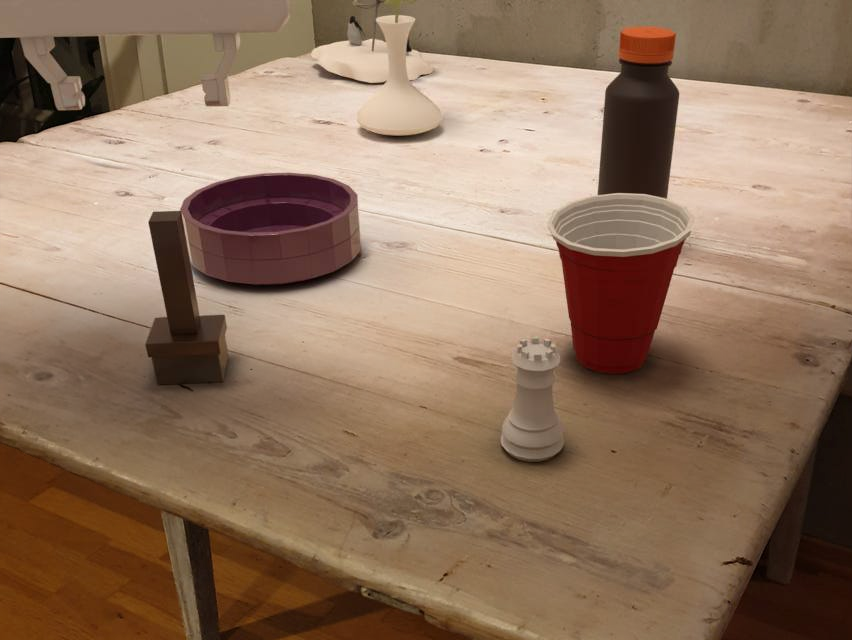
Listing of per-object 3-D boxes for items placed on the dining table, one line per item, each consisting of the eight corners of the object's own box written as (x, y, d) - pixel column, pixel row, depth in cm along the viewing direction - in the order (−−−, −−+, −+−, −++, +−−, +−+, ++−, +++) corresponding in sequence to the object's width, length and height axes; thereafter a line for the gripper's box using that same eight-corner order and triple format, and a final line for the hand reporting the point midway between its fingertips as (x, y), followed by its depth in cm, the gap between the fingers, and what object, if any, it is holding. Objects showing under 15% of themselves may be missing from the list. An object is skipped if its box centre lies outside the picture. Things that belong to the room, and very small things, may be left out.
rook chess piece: (576, 450, 67) (584, 349, 63) (526, 472, 65) (530, 369, 61) (537, 421, 70) (541, 323, 66) (487, 441, 68) (488, 341, 64)
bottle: (675, 243, 98) (701, 32, 86) (633, 262, 94) (655, 43, 82) (622, 225, 102) (641, 21, 90) (580, 242, 98) (594, 31, 86)
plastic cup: (522, 336, 81) (526, 198, 74) (638, 318, 84) (653, 183, 77) (571, 401, 73) (581, 252, 66) (699, 379, 75) (722, 233, 69)
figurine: (285, 61, 155) (282, -50, 145) (367, 44, 167) (369, -60, 157) (373, 97, 146) (376, -21, 136) (453, 76, 157) (462, -34, 147)
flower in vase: (410, 148, 122) (402, -75, 108) (339, 134, 127) (323, -82, 113) (465, 123, 132) (465, -86, 117) (397, 110, 136) (389, -91, 122)
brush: (153, 386, 74) (119, 229, 67) (163, 358, 78) (131, 206, 71) (225, 383, 75) (199, 226, 67) (231, 355, 78) (207, 203, 71)
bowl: (178, 295, 87) (167, 238, 84) (202, 227, 101) (193, 175, 97) (361, 288, 89) (357, 231, 86) (360, 221, 102) (357, 170, 99)
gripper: (284, -144, 59) (307, 89, 67) (-64, -143, 58) (1, 97, 65) (277, -137, 54) (302, 115, 62) (-105, -135, 52) (-29, 124, 60)
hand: (145, 106), depth 64 cm, fingers open, 8 cm apart
